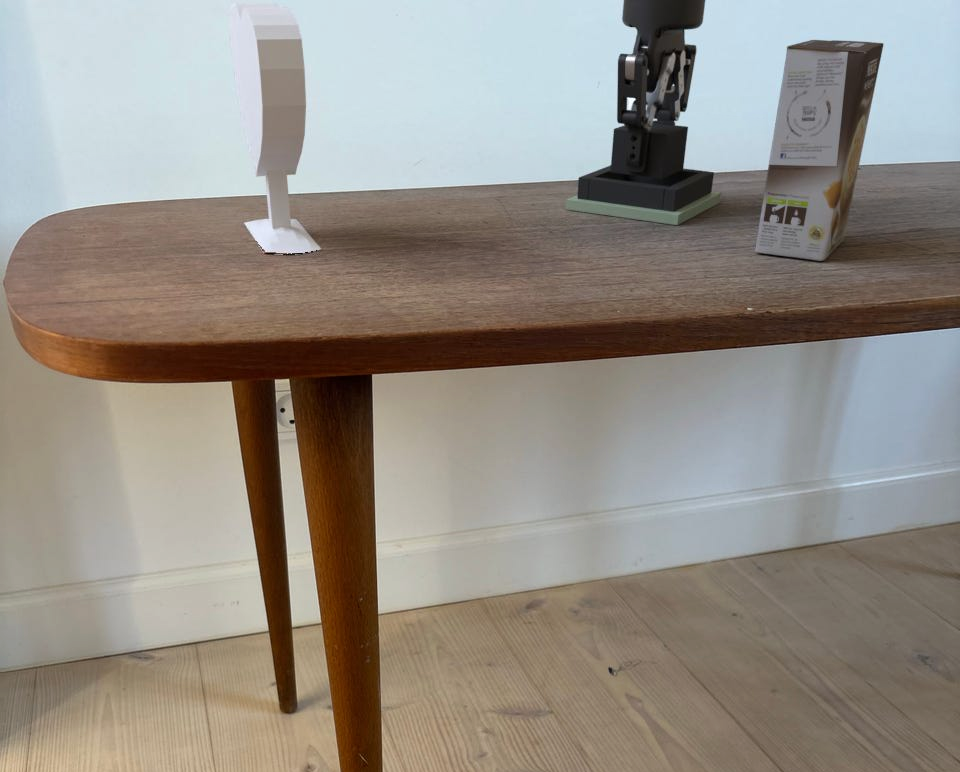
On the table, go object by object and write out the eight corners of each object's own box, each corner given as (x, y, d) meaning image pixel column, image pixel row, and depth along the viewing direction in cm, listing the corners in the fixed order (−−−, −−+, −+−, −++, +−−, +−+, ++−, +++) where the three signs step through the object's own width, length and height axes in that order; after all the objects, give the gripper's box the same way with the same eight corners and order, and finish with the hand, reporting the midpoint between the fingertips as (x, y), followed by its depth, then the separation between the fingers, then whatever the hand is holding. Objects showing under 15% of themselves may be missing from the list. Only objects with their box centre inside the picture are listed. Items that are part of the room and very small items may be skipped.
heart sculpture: (326, 255, 91) (310, 12, 80) (268, 259, 89) (244, 12, 79) (292, 214, 103) (274, -1, 92) (240, 218, 101) (217, -1, 91)
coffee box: (826, 263, 91) (867, 50, 81) (752, 253, 93) (784, 45, 84) (845, 239, 97) (885, 41, 88) (776, 231, 100) (808, 37, 91)
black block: (683, 169, 107) (688, 126, 105) (662, 179, 103) (667, 134, 101) (632, 163, 109) (636, 121, 107) (610, 172, 105) (613, 128, 103)
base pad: (720, 202, 110) (724, 171, 108) (677, 225, 101) (681, 192, 99) (615, 188, 115) (617, 159, 113) (565, 209, 106) (567, 177, 104)
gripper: (676, -29, 90) (655, 183, 99) (733, -34, 100) (708, 159, 109) (596, -32, 93) (583, 173, 102) (659, -36, 103) (641, 151, 113)
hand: (648, 165), depth 106 cm, fingers closed on black block, 5 cm apart
